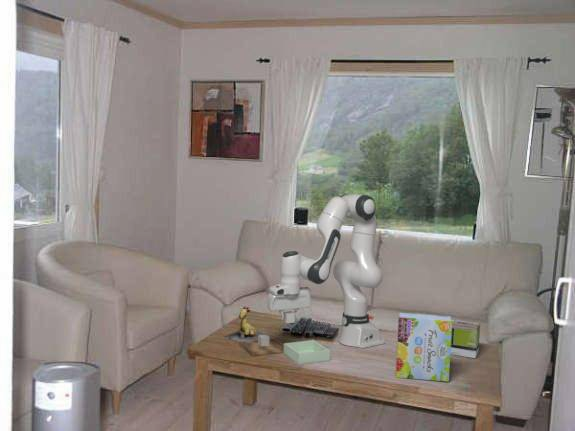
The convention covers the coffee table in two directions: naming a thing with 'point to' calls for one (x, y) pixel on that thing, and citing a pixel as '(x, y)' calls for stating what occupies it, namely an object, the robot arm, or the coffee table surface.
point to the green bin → (306, 352)
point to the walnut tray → (262, 347)
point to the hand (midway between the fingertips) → (288, 318)
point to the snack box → (423, 347)
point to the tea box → (465, 338)
